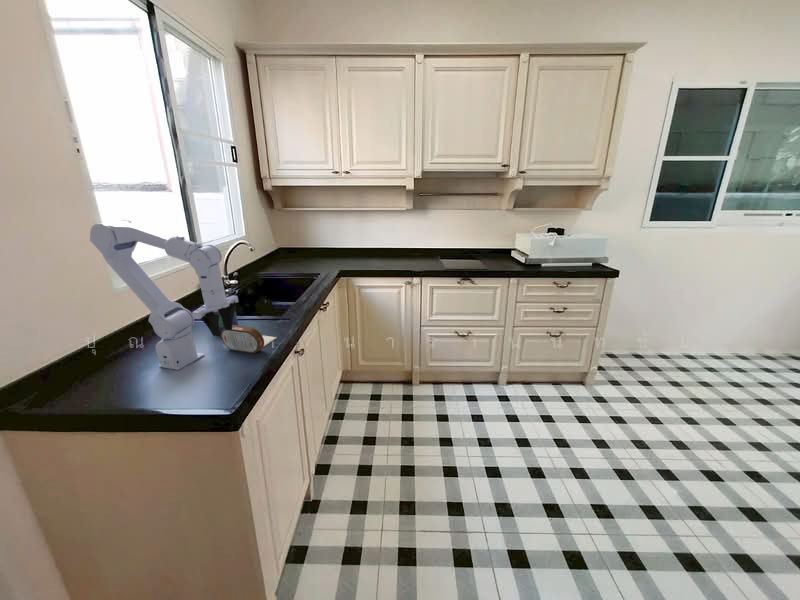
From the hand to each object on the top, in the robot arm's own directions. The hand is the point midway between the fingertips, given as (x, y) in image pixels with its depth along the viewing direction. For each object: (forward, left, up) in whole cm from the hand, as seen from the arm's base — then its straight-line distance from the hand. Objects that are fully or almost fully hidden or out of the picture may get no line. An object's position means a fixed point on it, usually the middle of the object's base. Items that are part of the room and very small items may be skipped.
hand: (222, 332), depth 100 cm
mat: (+13, 0, -9) cm, 16 cm away
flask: (+18, +18, -10) cm, 27 cm away
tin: (+7, 0, -10) cm, 12 cm away
